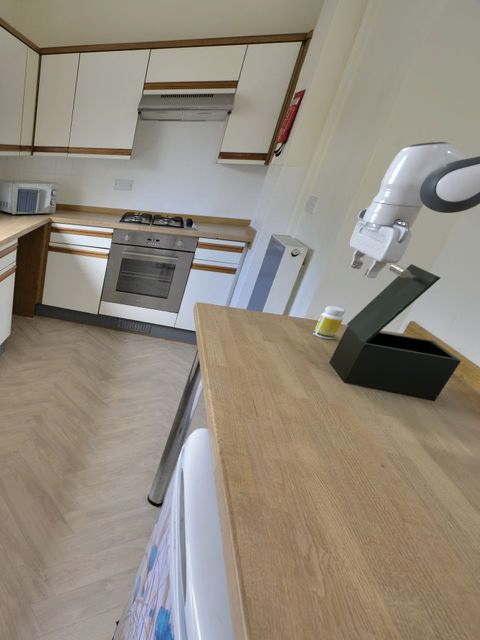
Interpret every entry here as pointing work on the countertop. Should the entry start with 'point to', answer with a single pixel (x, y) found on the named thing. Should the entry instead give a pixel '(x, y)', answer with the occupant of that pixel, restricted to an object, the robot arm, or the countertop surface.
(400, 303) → the bin lid
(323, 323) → the supplement bottle
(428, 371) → the bin
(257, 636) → the countertop surface
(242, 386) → the countertop surface
